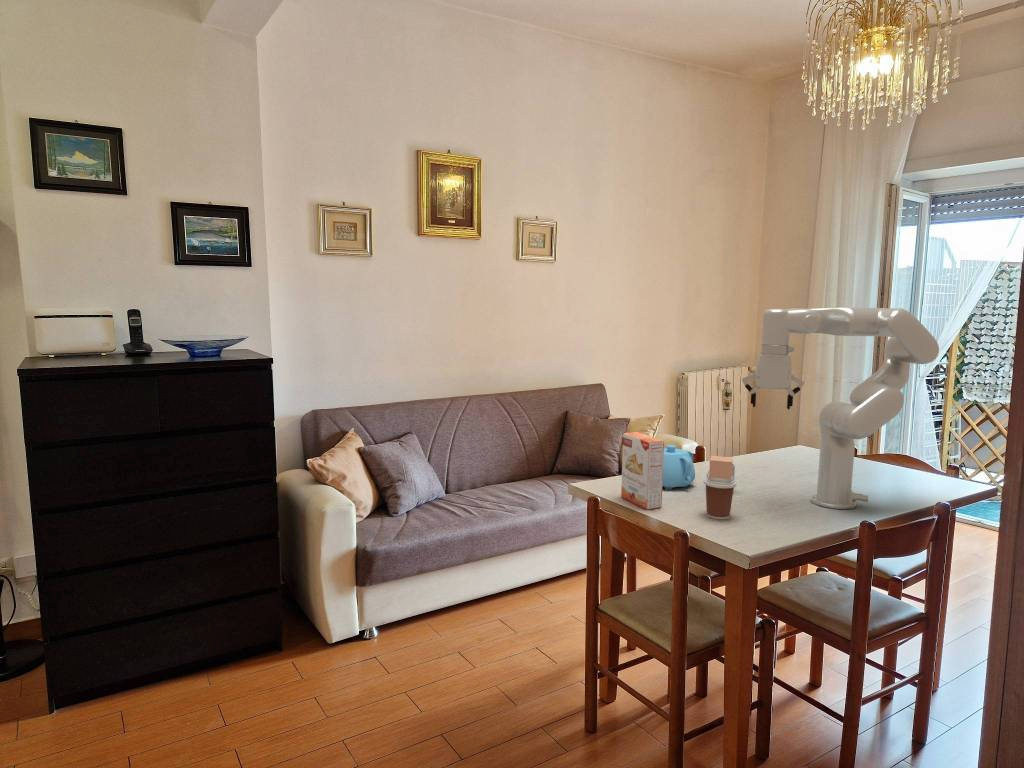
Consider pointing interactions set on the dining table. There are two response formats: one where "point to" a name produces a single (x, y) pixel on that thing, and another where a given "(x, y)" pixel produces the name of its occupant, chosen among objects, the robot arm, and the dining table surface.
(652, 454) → the cracker box
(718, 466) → the stacking block
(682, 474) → the decorative pot
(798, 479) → the dining table surface
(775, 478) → the dining table surface
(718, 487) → the coffee cup
